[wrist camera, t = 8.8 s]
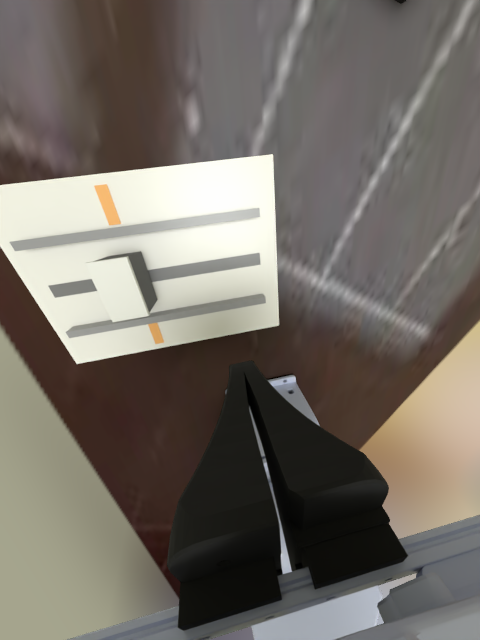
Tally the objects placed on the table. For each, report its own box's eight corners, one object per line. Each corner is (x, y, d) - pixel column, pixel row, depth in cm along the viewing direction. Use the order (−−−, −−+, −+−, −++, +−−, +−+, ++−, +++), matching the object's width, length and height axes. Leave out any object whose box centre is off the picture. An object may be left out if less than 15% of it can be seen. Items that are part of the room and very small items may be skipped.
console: (265, 162, 16) (277, 149, 13) (273, 317, 22) (282, 330, 19) (-7, 193, 14) (-56, 186, 11) (87, 351, 20) (70, 370, 18)
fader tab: (141, 250, 15) (126, 257, 12) (158, 300, 17) (148, 315, 14) (107, 255, 15) (84, 263, 12) (128, 305, 17) (112, 322, 14)
